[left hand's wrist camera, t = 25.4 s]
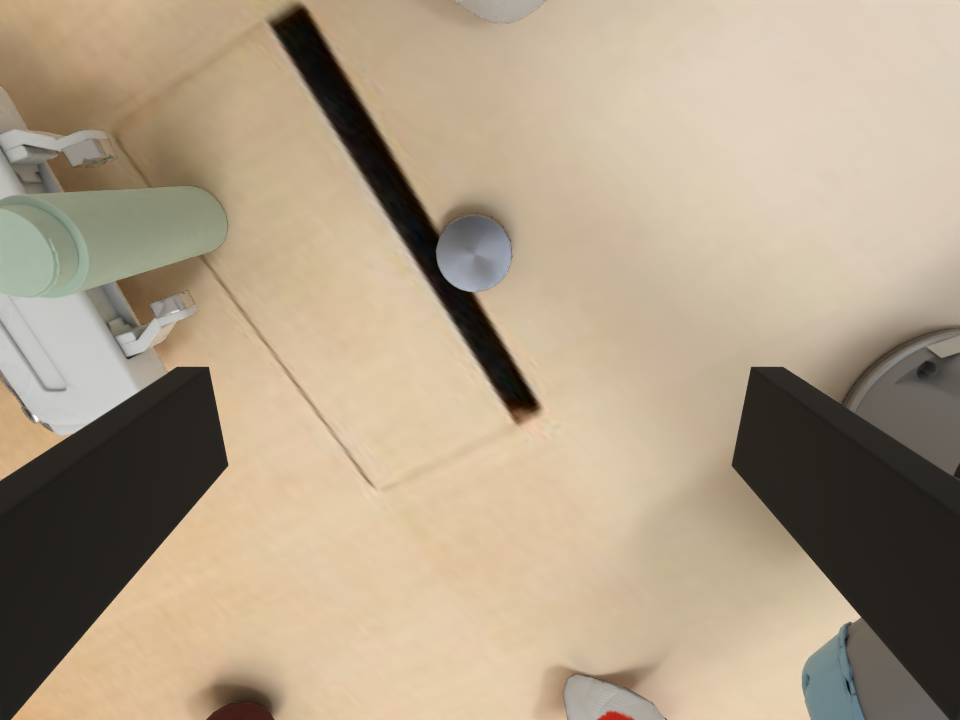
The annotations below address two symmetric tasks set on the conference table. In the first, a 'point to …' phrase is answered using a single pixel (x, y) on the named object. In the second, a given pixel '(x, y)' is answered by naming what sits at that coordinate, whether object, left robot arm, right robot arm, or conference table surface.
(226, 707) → the potato
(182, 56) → the conference table surface
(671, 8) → the conference table surface
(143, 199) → the bottle
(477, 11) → the projector
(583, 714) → the fish
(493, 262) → the lid
